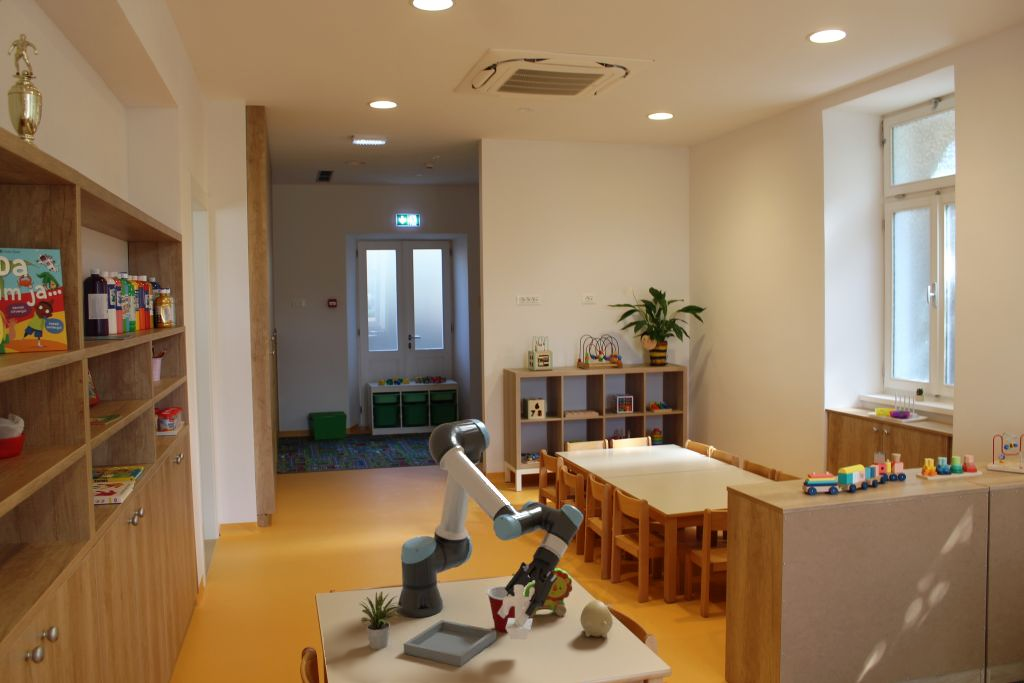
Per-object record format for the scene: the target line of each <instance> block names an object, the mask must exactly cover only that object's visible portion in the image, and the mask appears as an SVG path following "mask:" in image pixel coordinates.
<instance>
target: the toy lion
mask: <svg viewBox="0 0 1024 683" xmlns="http://www.w3.org/2000/svg"><path fill="white" fill-rule="evenodd" d="M552 572H553V573H554V574H555V576H556V577H557V580H556V581H555V582H554V583H553V585H552V588H551V590H550V592H549V594H548V597H547V599H546V601H545V603H544V606H543V607H541V606H538V607H536V608H535V610H534V611H533V613H532V615H531V616H529V617H530V618H532V617H535V615H536V614H537V612H538V611H543V610H547V611H548V610H549V611H552V612H555V614H556V615H557V616H559V617H563V616H564V615H566V613H567V608H566V604H565V601H564V600H565V599H567V598H568V597H569V596H570V593H571V592H572V591H573V585H572V584H573V580H572V577H571V576H570V575H569V574H568V572H567V571H565V570H563V569H561V568H560V567H556V568H555V569H554V570H552ZM545 580H546V579H545ZM534 585H535V580H533V581H532V582H530V583H528V584H527V585H526V588H525V590H524V594H523V596H524V597H529V590H530V588H531V587H534ZM529 617H528V618H529Z"/></svg>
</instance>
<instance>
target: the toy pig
mask: <svg viewBox="0 0 1024 683" xmlns="http://www.w3.org/2000/svg"><path fill="white" fill-rule="evenodd" d="M579 619H580V620H579V621H580V624H581V627H582V629H583V630H584V632H585V636H586V637H588V638H589V637H595V638H597V637H599V638H600V637H602V638H607V636H608V633H609V632H610V630H611V629H612V626H613V624H614V621H613V616H612V613H611V611H610V609H609V608H608V606H607V605H606V603H604V602H603V601H601V600H599V599H594V600H591V601H590V602H588V603H587V604H586V605H585V606H584V608H583V609H582V611H581V614H580V618H579Z"/></svg>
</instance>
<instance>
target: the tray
mask: <svg viewBox="0 0 1024 683" xmlns="http://www.w3.org/2000/svg"><path fill="white" fill-rule="evenodd" d="M496 641H497V630H496V629H489V628H484V627H479V626H474V625H469V624H465V623H459V622H455V621H448V620H444V619H440V620H439V621H437V622H436V623H433V625H431V626H429V627H428V628H426V629H424V630H423V631H421V632H420V633H418V634H416V635H415V636H413V637H412V638H411V639H409V640H407V641H405V642H404V643H403V654H404V655H408V656H412V657H417V658H420V659H421V658H422V659H426V660H430V661H434V662H437V663H438V662H439V663H443V664H447V665H450V666H454V667H460V668H462V667H463V666H465V665H466V664H467V663H468V662H470V661H471V660H472V659H474V658H475V657H477V656H478V655H479V654H480V653H482V652H483V651H485V649H487V648H488V647H490V646H491V645H492V644H494V643H495V642H496Z"/></svg>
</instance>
